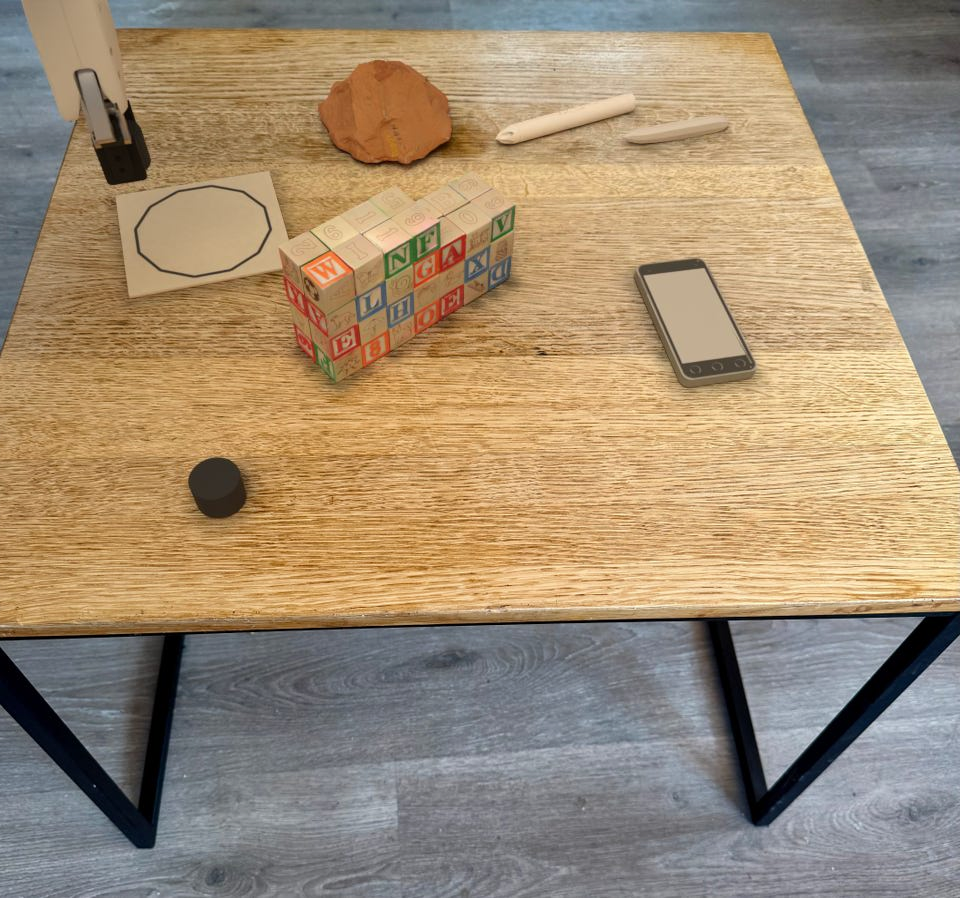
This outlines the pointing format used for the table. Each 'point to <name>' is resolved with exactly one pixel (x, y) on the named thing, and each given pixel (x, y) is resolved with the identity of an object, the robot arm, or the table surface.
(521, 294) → the table surface
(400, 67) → the stone
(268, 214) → the face card
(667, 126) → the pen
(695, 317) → the smartphone
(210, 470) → the right eye dot
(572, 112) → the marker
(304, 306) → the stack of blocks
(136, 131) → the left eye dot
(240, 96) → the table surface
